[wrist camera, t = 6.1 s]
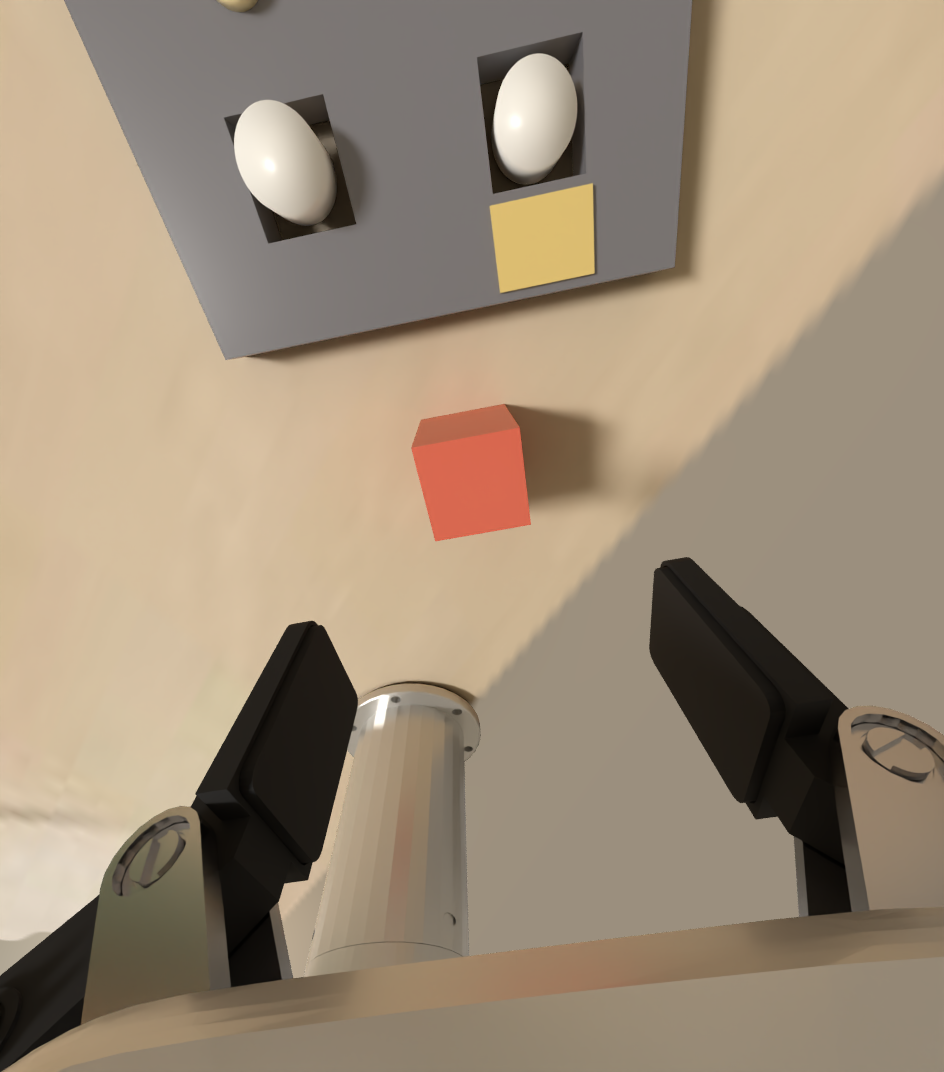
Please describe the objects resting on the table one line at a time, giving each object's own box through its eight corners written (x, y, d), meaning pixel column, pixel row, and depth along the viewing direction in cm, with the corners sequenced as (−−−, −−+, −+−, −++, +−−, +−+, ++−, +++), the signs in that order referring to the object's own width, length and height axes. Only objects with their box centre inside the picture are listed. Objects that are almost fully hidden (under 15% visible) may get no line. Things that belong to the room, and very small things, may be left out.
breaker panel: (655, 272, 20) (681, 265, 17) (244, 356, 21) (219, 360, 18) (679, -279, 12) (730, -414, 10) (48, -105, 14) (-34, -192, 11)
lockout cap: (514, 482, 25) (530, 524, 20) (439, 496, 25) (435, 541, 20) (504, 403, 23) (519, 427, 17) (420, 419, 23) (411, 447, 18)
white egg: (347, 217, 17) (334, 205, 15) (277, 232, 17) (257, 222, 15) (320, 116, 15) (303, 90, 14) (244, 135, 16) (217, 110, 14)
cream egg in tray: (566, 176, 17) (578, 159, 16) (496, 191, 18) (501, 176, 16) (561, 75, 16) (575, 44, 14) (485, 92, 16) (489, 64, 14)
